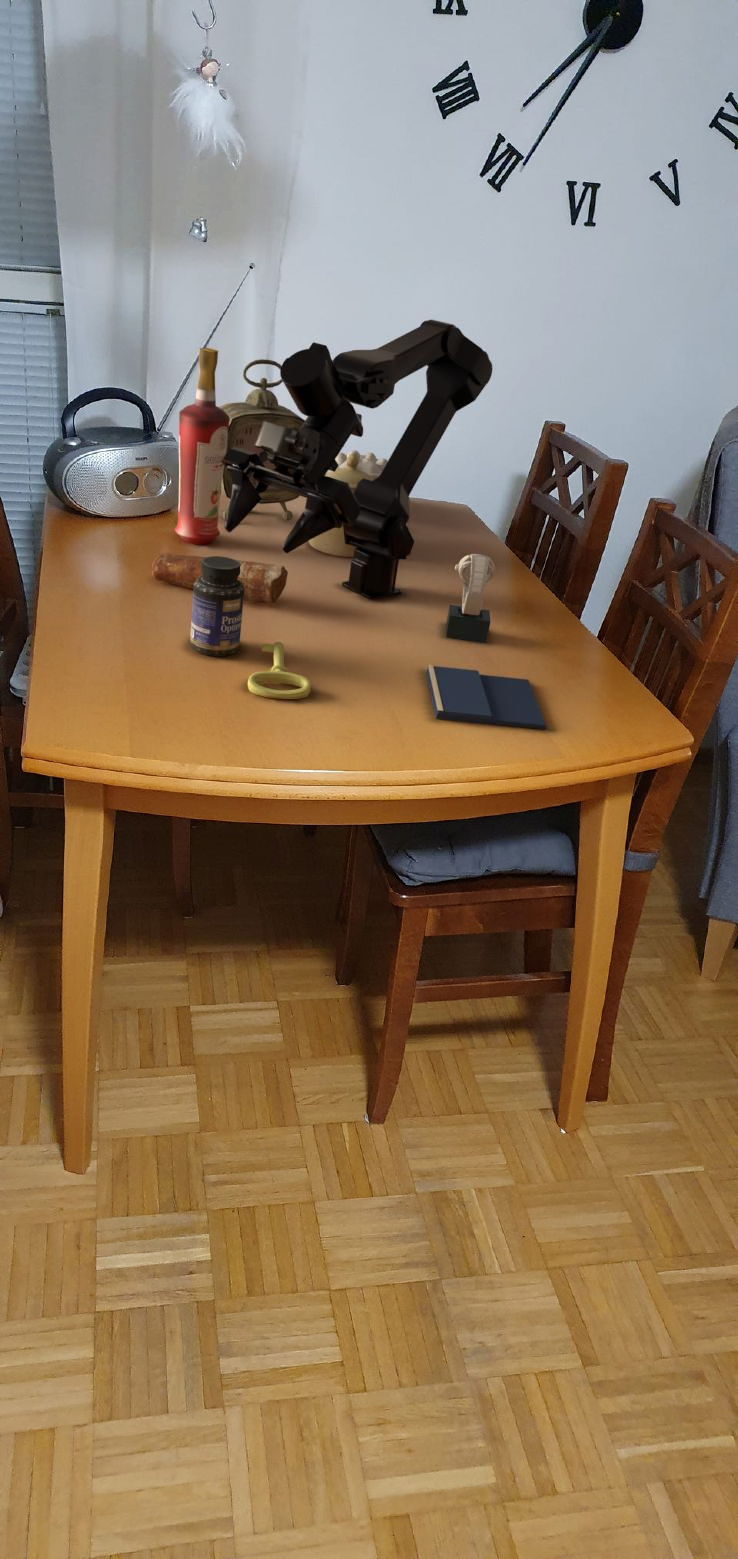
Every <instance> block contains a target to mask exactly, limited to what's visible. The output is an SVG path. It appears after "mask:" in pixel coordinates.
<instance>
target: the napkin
mask: <svg viewBox="0 0 738 1559" xmlns="http://www.w3.org/2000/svg"><path fill="white" fill-rule="evenodd" d="M425 673H426V675H425V676H426V679H427V685H428V688H429V693H430V698H431V702H432V706H433V711H434V716H435V719H436V720H444V721H456V722H457V721H458V722H464V723H465V722H467V723H476V724H486V725H496V726H507V727H514V728H525V729H526V728H527V729H534V730H535V729H536V730H546V727H547V724H546V721H545V718H544V715H543V714H542V711H541V709H540V706H539V703H538V700H537V699H536V696H535V693H534V691H533V688H532V686H531V683H530V681H529V679H527V678H518V677H507V676H497V675H490V674H489V675H487V674H480V672H479V670H475V669H467V668H456V667H447V666H437V665H433V664H428V665H427V668H426V672H425Z"/></svg>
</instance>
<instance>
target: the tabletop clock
mask: <svg viewBox="0 0 738 1559" xmlns="http://www.w3.org/2000/svg"><path fill="white" fill-rule="evenodd" d="M257 365H270V366H275V367H277V368H278V369H279V370H281V366H282V364H280V363H278V362H277V361H275V360H272V359H254V360H252V361H250V362H249V363H247V364H246V365H245V367H244V368H243V371H242V377H243V379H244V381H245V382H246V383H247V384H249V385H250V386H252V387H256V389H253V390H252V391H250V392H249V393H248V394H247V396H246V398H245V400H244V401H242V402H241V401H240V402H228V403H224V404H222V405H219V406H218V407H219V408H221V409H222V410H224V411H225V412H226V413H227V415H228V416H229V417H230V420H229V429H228V438H227V447H226V453H227V452H228V450H229V449H230V448H235V447H238V448H241V449H244V450H247V451H250V452H253V453H256V454H257V455H258V456H259V458H260V459H261V461H262V462H263V464H264V466H265V467H266V468H269V469H272V470H274V468H275V465H274V464H272V463H270V461H269V459H268V458H267V457H268V456H269V454H270V453H269V452H267V451H265V450H264V449H262V448H257V447H255V442H256V440H257V437H258V434H259V431H260V429H261V426H262V423H263V421H267V422H270V423H274V424H277V425H280V426H284V427H287V428H289V429H292V428H296V429H300V428H301V426H302V425H303V423H304V422H305V420H306V419H304V418H302V416H300V415H298V414H297V413H295V412H293V411H292V410H291V409H289V408H287V407H286V406H284V405H281V404H279V400H278V397H277V396H276V395H275V393H274V392H272V391H271V390H270V389H271V388H275V387H277V386H279V385H281V384H282V383H284V382H283V381H282V378H281V377H280V379H279V380H277V381H274V382H268V379H267V378H266V377H262V378H260V382H256V381H254V380H250V378H248V376H247V372H248V370H249V369H250V368H252V367H253V366H257ZM221 494H223V495H224V497H226V498H228V504H227V506H226V510H225V509H224V510H223V511H221V515H220V517H221V519H222V520H223V521H225V522H226V518H227V514H228V509H229V505H230V500H231V495H232V479H231V477H230V476H229V475H228V473H227V471H226V468H225V467H224V470H223V477H222V486H221ZM259 495H260V497H261V498H262V499H261V500H260V502H259V503H258V504H259V505H265V504H267V505H268V504H279V505H280V507H281V508H282V511H283V514H282V518H283V519H284V520H285V521H291V520H293V518H294V514H293V512H292V511H291V510H288V509H287V505H286V503H288V502H291V501H294V500H296V499H298V498H300V496H299V495H296V494H293V493H290V492H287V491H284V490H281V489H279V488H276V487H273V486H270V485H269V486H268V488H267V489H266V491H265V492H262V493H260V494H259ZM258 504H257V505H258ZM252 511H253V509H252V510H251V512H252Z"/></svg>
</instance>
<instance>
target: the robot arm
mask: <svg viewBox="0 0 738 1559" xmlns="http://www.w3.org/2000/svg"><path fill="white" fill-rule="evenodd" d="M424 367H427V368H426V371H425V378H426V393H425V395H424V397H423V398H422V400H421V402H420V403H419V406H418V407H417V409H416V411H415V412H414V414H413V416H412V418H411V420H410V421H409V423H408V425H407V426H406V428H405V430H404V432H403V433H402V435H401V436H400V439H399V440H398V442H397V444H396V446H395V447H394V449H393V451H392V453H391V454H390V456H389V458H388V459H387V460H388V462H387V463H386V465H385V467H384V469H383V471H382V472H381V474H380V475H379V477H378V478H376V479H374V480H372V481H370V480H367V479H364V478H363V479H362V480H361V481H360V482H359V483H358V485H357V487H356V489H355V491H354V493H353V491H352V489H351V488H350V486H349V484H348V483H346V482H343V481H340V480H337V479H334V478H331V477H328V476H325V474H327V473H328V472H330V471H333V472H335V471H336V469H337V467H338V466H339V465H338V463H337V462H336V460H335V459H336V457H337V456H338V454H339V453H341V451H342V449H343V448H344V447H345V445H346V443H347V441H348V440H349V439H350V437H351V435H352V436H355V437H358V438H361V437H363V436H364V426H363V423H362V422H363V420H362V419H363V415H362V414H361V413H357V411H356V409H355V407H354V405H358V406H361V407H365V408H368V409H373V410H374V409H377V408H379V407H380V406H381V405H382V404H383V403H385V402H386V401H387V400H388V399H389V398H390V397H392V396H393V394H394V393H395V387H396V385H397V383H398V382H399V381H401V380H404V379H405V378H407V377H409V376H411V375H412V374H414V373H416V372H417V371H419V370H422V369H423V368H424ZM279 370H280V369H279ZM279 373H280V374H279V376H280V379H281V378H282V381H283V382H282V383H283V384H284V387H285V388H286V390H287V391H288V393H289V395H290V397H291V398H292V400H293V403H294V405H295V406H296V408H297V410H298V411H299V413H300V414H302V415H304V416H306V419H304V420H305V422H304V423H303V425H302V426H301V428H300V429H296V428H292V429H289V428H287V427H284V426H280V425H277V424H274V423H270V422H267V421H263V423H262V426H261V429H260V431H259V434H258V437H257V440H256V442H255V447H257V448H262V449H264V450H265V451H267V452H269V453H270V454H269V456H268V457H267V458H268V459H269V461H270V463H272V464H274V465H275V468H274V470H272V469H269V468H266V467H265V466H264V464H263V462H262V461H261V459H260V458H259V456H258V455H257V454H256V453H253V452H250V451H247V450H244V449H241V448H238V447H235V448H230V449H229V450H228V452H227V453H226V455H225V456H224V458H223V459H222V461H221V462H222V464H223V465H224V467H225V468H226V471H227V473H228V475H229V476H230V477H231V479H232V495H231V500H230V505H229V509H228V514H227V518H226V521H225V523H224V529H225V531H226V532H227V533H231V532H233V531H234V530H235V529H236V528H237V527H238V526H239V525H240V524H241V523H242V522H243V521H244V519H245V518H246V517H247V516H248V515H249V514H250V513H251V512H252V511H253V509H254V508H255V507H256V506H257V505H258V503H259V502H260V500H261V499H262V498H261V497H260V495H259V494H260V493H262V492H265V491H266V489H267V488H268V486H269V485H270V486H273V487H276V488H279V489H281V490H284V491H287V492H290V493H293V494H296V495H299V497H303V498H305V499H306V500H305V505H304V510H303V511H302V513H301V514H300V516H299V517H298V519H297V521H296V522H295V524H294V526H293V527H292V529H291V530H290V532H289V533H288V535H287V537H286V539H285V540H284V542H283V545H282V547H281V550H282V551H283V553H285V554H289V553H291V552H292V551H294V550H296V549H298V548H299V547H301V546H303V545H304V544H306V543H309V540H311V539H313V538H315V537H317V536H319V535H321V534H323V533H325V532H327V531H329V530H331V529H333V528H339V529H340V528H341V527H342V526H343V530H344V540H345V544H347V545H351V546H354V547H357V548H354V555H353V557H352V559H351V561H350V568H349V575H348V580H346V581H342V583H341V586H342V587H343V588H345V589H347V590H349V591H351V592H353V593H355V594H357V595H359V596H361V597H363V598H364V599H367V600H369V601H374V600H379V599H384V598H385V599H386V598H390V597H394V596H399V595H400V596H401V595H403V590H402V589H400V588H398V587H396V582H397V576H398V568H399V562H400V560H402V561H403V560H407V558H408V557H409V556H410V555H412V554H411V553H412V551H413V547H414V544H415V539H414V537H413V535H412V533H411V531H410V529H409V527H408V525H407V524H408V522H409V520H410V517H411V513H410V514H409V498H410V495H411V493H412V491H413V489H414V487H415V486H416V484H417V482H418V481H419V479H420V477H421V474H422V473H423V472H424V469H425V468H426V466H427V464H428V463H429V461H430V460H431V457H432V455H433V454H434V452H435V450H436V448H437V447H438V444H439V443H440V441H441V439H442V437H443V436H444V434H445V432H446V430H447V429H448V427H449V425H450V424H451V421H452V420H453V418H454V416H455V414H456V413H457V412H459V411H460V410H461V409H463V408H465V407H467V406H469V405H470V404H472V403H474V402H475V401H476V400H477V399H478V397H479V396H480V394H481V393H482V391H483V390H484V389H485V387H486V386H487V384H489V382H490V380H491V378H492V375H493V363H492V361H491V360H490V356H489V354H488V353H487V351H485V350H483V348H482V347H481V346H479V345H477V344H476V343H475V342H474V341H472V340H471V339H470V338H468V337H467V336H465V335H464V334H463V332H462V330H461V329H460V328H459V327H457V326H456V325H455V324H453V323H449V322H444V321H441V320H436V319H433V318H432V319H431V318H430V319H428V320H424V321H423V322H421V323H420V325H419V326H418V327H416V328H414V329H412V330H410V331H409V332H405V333H404V334H402V335H401V336H398V337H397V338H395V339H393V340H391V341H389V342H386V343H385V344H383V345H381V346H380V347H377V348H374V349H352V350H347V351H343V352H340V353H338V354H337V355H336V356H335V357H333V359H332V356H331V352H330V350H329V347H328V346H327V345H326V344H322V343H319V342H315V341H314V342H312V343H311V344H310V345H309V348H305V349H301V350H299V351H296V352H294V353H293V354H292V355H290V356H289V357H286V358H285V359H284V360H283V362H282V364H281V370H280V371H279ZM353 404H354V405H353ZM251 510H252V511H251Z"/></svg>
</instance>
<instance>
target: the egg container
mask: <svg viewBox="0 0 738 1559" xmlns="http://www.w3.org/2000/svg"><path fill="white" fill-rule="evenodd" d="M352 452H355V453H356V454H357V456H358V459H359V464H358V465H357V467H356V469H358V470H361V471H364V472H366V473H367V474H369V475H370V476H371V477H372V479H376V478H378V477H379V475H380V474H381V472H382V471H383V469H384V467H385V465H386V463H387V462H388V460H389V459H387V458H379V459H378V458H377V457H376V455H375V454H374V452H367V453H366V454H361V453H360V452H359V451H358V450H355V449H354V450H351V451H349V452H348V454H345V453H344V452H339V454H338V456H337V457H336V459H335V460H336V462H337V463H338V465H339V466H338V467H337V469H338V468H347V467H348V465H347V462H346V460H347V457H348V456H349V454H351V453H352ZM330 472H331V471H330V470H329V473H330Z"/></svg>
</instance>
